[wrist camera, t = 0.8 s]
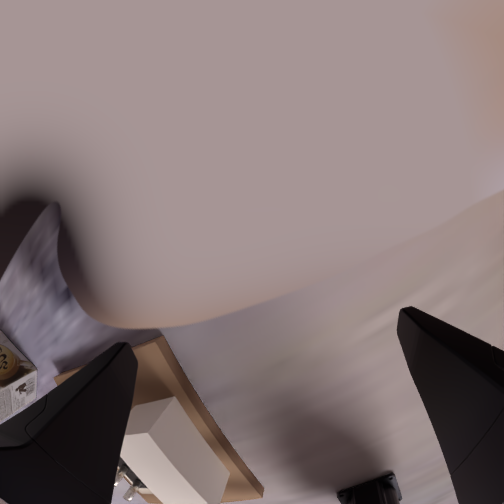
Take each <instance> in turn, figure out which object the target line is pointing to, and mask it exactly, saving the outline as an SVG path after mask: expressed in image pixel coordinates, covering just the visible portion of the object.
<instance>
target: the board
mask: <svg viewBox="0 0 504 504" xmlns="http://www.w3.org/2000/svg"><path fill="white" fill-rule="evenodd" d="M132 350H133V352H134V354H135V356H136V358H137V360H138V370H137V377H136V383H135V390H134V397H133V402H132V407H131V410H132V409H133V408H134V407H135V406H136V405H140V404H145V403H149V402H154V401H158V400H162V399H166V398H170V397H174V396H175V397H176V398H177V400H178V402H179V403H180V405H181V406H182V408H183V409H184V411H185V412H186V414H187V415H188V417H189V418H190V420H191V421H192V423H193V424H194V425H195V427H196V428H197V430H198V431H199V433H200V434H201V435H202V437H203V438H204V440H205V441H206V442H207V444H208V445H209V446H210V448H211V449H212V450H213V452H214V453H215V454H216V456H217V457H218V458H219V459H220V461H221V462H222V463H223V465H224V466H225V467H226V468H227V470H228V471H229V472H230V475H229V478H228V481H227V484H226V487H225V490H224V493H223V496H222V499H221V502H220V503H223V502H234V501H243V500H251V499H258V498H262V497H263V492H264V487H263V486H262V485H261V484H260V483H259V481H258V480H257V479H256V478H255V476H254V475H253V474H252V472H251V471H250V470H249V469H248V467H247V466H246V465H245V463H244V462H243V461H242V459H241V458H240V457H239V455H238V454H237V453H236V451H235V450H234V448H233V447H232V446H231V444H230V443H229V442H228V440H227V439H226V437H225V436H224V434H223V433H222V432H221V430H220V429H219V427H218V426H217V424H216V423H215V421H214V420H213V418H212V417H211V415H210V414H209V412H208V411H207V409H206V407H205V406H204V404H203V403H202V401H201V400H200V398H199V396H198V395H197V393H196V392H195V390H194V388H193V387H192V385H191V383H190V382H189V380H188V378H187V377H186V375H185V373H184V372H183V370H182V368H181V366H180V365H179V363H178V361H177V359H176V358H175V356H174V354H173V352H172V351H171V349H170V347H169V345H168V343H167V341H166V340H165V338H164V336H160V337H158V338H155V339H153V340H150V341H148V342H145V343H142V344H140V345H137V346H135V347H132ZM86 365H87V364H86ZM84 366H85V365H83V366H80V367H77V368H74V369H71V370H68V371H66V372H63V373H60V374H59V375H57V376H56V377H54V380H55V382H56V384H57V385H60V384H61V383H62V382H64V381H65V380H66V379H68V378H69V377H70V376H72V375H73V374H75V373H76V372H77V371H79V370H80V369H81V368H83V367H84ZM118 469H119V466H118V468H117V470H118ZM124 478H125V479H126V481H127V482H128V483H129V484H130V485H132V483H133V482H132V481H131V480H130V479H129V478H128V477H127V476H126V475H124ZM137 492H138V493H139V494H140V495H141V496H142V497H143V498H144V499H145V500H146V501H147V502H148V503H156V504H163V503H162V502H161V501H160V500H159V499H158V498H157V497H156V496H155V495H154V494H153V493H152V492H151V491H150V490H149V489H148V488H139V489H138V491H137Z"/></svg>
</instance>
